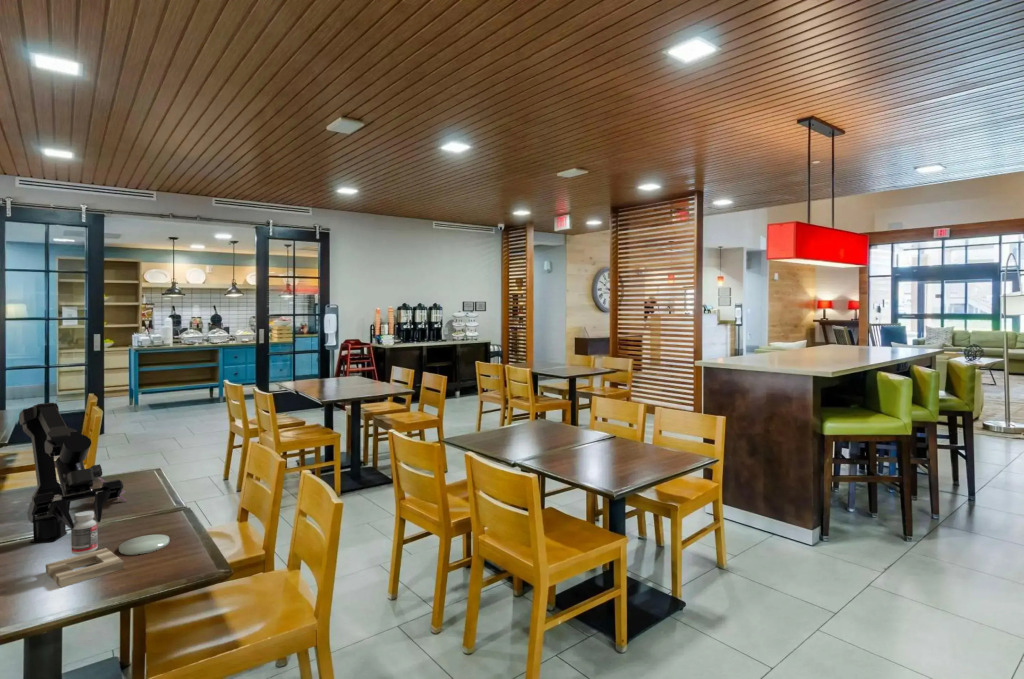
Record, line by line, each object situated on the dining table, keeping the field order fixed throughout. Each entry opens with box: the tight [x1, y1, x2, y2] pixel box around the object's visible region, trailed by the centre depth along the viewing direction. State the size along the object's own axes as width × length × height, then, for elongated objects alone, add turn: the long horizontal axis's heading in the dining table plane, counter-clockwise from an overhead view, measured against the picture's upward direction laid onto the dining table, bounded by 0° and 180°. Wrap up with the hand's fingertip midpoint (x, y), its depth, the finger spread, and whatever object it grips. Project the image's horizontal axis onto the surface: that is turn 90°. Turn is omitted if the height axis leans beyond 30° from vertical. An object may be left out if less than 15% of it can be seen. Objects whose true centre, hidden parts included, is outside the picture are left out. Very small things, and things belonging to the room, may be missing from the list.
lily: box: [97, 477, 127, 502], centre depth 193 cm, size 12×12×10 cm
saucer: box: [118, 534, 170, 556], centre depth 158 cm, size 12×12×1 cm
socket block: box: [45, 547, 124, 589], centre depth 142 cm, size 13×13×2 cm
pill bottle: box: [70, 510, 99, 555], centre depth 142 cm, size 5×5×10 cm
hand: (86, 524), depth 141 cm, fingers closed on pill bottle, 5 cm apart
